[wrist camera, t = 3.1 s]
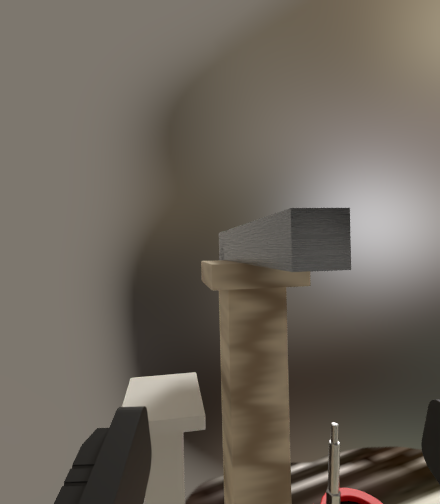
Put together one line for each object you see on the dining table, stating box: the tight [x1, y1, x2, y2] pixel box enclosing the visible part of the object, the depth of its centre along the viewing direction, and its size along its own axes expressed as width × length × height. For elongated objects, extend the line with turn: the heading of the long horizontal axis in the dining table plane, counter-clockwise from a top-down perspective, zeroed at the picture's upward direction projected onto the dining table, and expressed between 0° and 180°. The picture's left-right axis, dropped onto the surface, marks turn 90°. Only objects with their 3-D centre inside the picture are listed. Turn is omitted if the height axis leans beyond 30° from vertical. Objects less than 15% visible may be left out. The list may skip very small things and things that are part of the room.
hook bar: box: [219, 208, 351, 272], centre depth 26 cm, size 3×22×5 cm, turn 9°
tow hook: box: [321, 422, 382, 504], centre depth 39 cm, size 8×13×9 cm
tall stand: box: [201, 260, 310, 504], centre depth 29 cm, size 8×9×32 cm
